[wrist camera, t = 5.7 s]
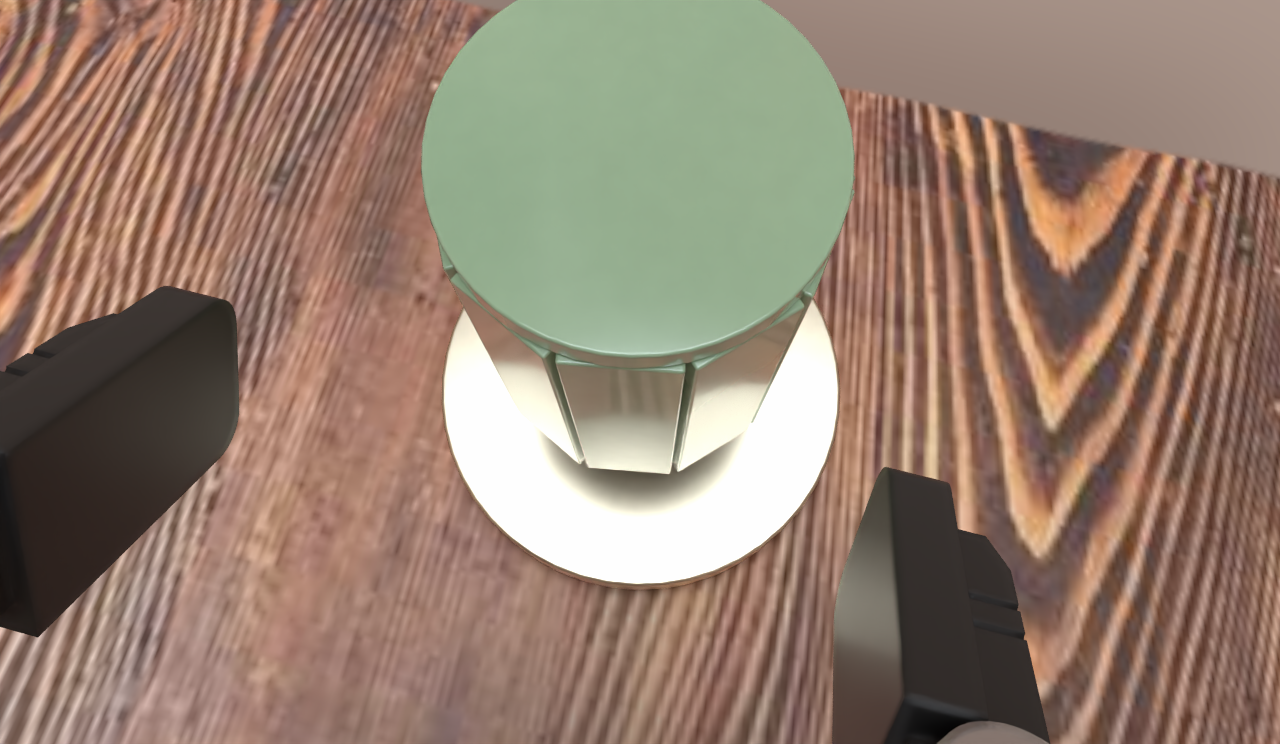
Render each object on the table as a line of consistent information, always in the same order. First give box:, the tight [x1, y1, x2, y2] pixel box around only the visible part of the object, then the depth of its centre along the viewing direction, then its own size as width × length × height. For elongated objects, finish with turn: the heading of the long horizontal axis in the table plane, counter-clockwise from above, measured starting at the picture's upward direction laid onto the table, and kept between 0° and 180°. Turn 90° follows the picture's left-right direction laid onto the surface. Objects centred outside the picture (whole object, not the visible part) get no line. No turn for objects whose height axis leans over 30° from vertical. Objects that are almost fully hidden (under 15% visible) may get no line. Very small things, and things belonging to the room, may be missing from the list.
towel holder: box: [442, 298, 840, 590], centre depth 22 cm, size 11×11×14 cm
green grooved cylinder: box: [421, 0, 855, 474], centre depth 19 cm, size 6×7×9 cm
